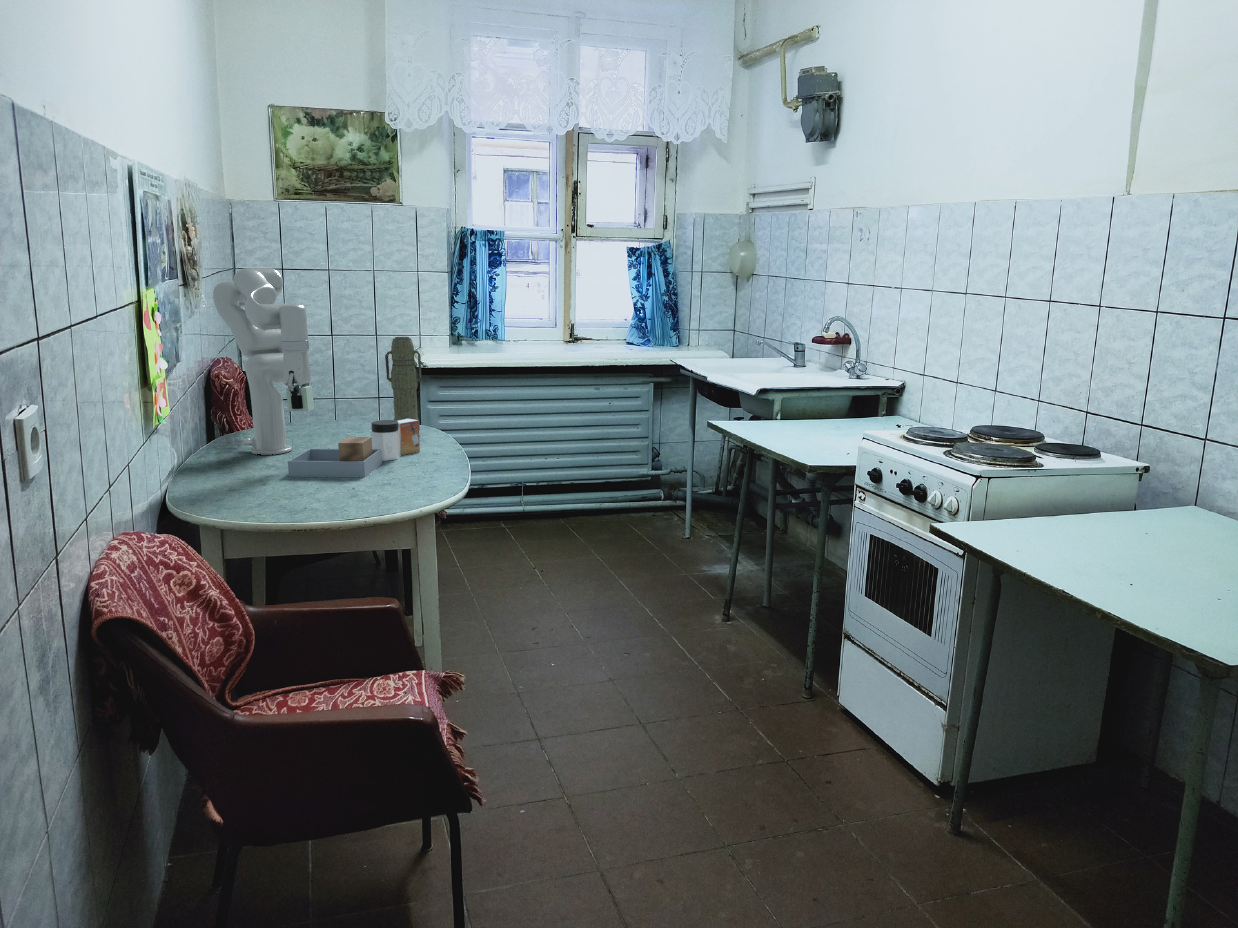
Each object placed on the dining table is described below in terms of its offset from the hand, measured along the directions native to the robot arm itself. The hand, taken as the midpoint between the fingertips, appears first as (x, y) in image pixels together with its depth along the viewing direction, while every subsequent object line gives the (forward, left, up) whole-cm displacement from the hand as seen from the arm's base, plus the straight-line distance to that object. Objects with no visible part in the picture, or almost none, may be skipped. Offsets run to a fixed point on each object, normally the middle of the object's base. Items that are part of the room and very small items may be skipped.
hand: (301, 406), depth 273 cm
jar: (+23, +7, -18) cm, 30 cm away
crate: (+13, -10, -18) cm, 24 cm away
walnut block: (+19, -10, -17) cm, 27 cm away
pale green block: (0, 0, -1) cm, 1 cm away
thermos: (+20, +43, -18) cm, 51 cm away
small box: (+26, +18, -18) cm, 37 cm away
